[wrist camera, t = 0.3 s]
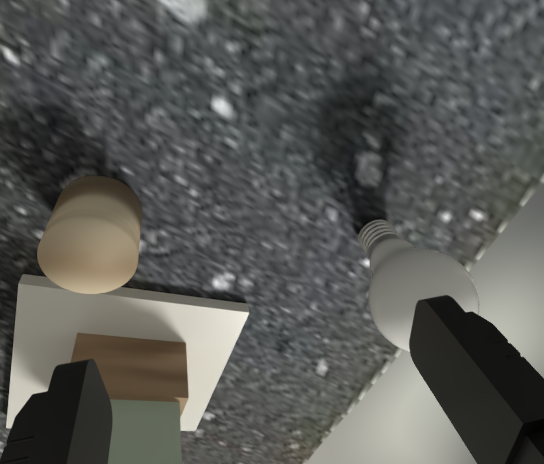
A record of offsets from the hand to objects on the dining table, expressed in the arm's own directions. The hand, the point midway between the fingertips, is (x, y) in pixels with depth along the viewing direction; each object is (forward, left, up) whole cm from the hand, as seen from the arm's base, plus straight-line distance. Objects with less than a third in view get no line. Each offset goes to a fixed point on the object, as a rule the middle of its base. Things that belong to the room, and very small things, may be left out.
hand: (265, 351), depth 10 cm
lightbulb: (+5, +14, -18) cm, 23 cm away
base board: (+22, -1, -17) cm, 28 cm away
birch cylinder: (+8, -5, -18) cm, 20 cm away
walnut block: (+22, -1, -16) cm, 27 cm away
